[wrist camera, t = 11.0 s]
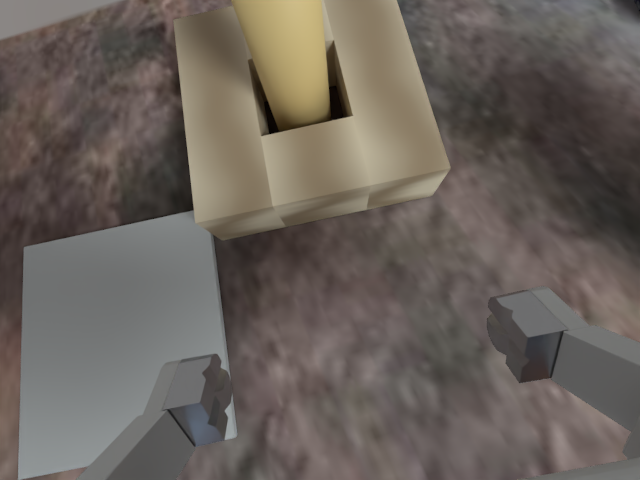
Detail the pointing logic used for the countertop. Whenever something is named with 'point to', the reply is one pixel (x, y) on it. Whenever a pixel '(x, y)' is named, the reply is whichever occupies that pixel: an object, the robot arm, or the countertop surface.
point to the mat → (110, 333)
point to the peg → (288, 58)
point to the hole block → (310, 141)
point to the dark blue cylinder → (638, 4)
